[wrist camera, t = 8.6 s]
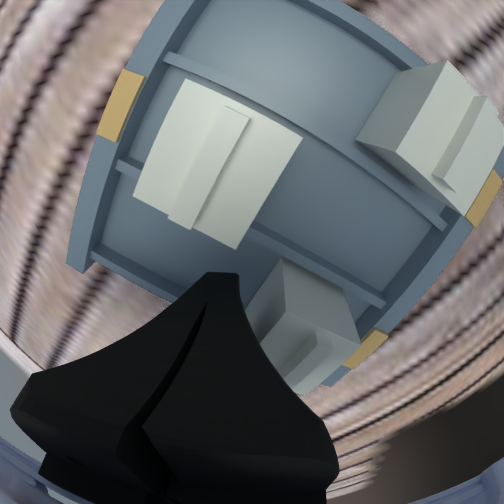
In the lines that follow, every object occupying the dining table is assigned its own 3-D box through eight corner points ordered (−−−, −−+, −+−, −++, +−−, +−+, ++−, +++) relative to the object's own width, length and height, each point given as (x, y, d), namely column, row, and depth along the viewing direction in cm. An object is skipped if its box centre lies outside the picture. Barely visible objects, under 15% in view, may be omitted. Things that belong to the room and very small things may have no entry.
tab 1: (291, 132, 9) (306, 139, 5) (246, 207, 10) (232, 261, 7) (213, 91, 9) (177, 74, 5) (173, 170, 10) (121, 202, 6)
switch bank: (486, 141, 9) (519, 150, 7) (325, 356, 15) (331, 389, 13) (223, -36, 7) (213, -64, 5) (89, 242, 13) (63, 265, 10)
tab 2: (341, 287, 12) (365, 358, 8) (299, 336, 13) (306, 408, 9) (282, 255, 11) (286, 325, 7) (243, 311, 12) (233, 384, 9)
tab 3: (450, 123, 8) (521, 137, 4) (413, 185, 9) (475, 224, 6) (395, 73, 8) (459, 57, 4) (354, 139, 9) (405, 155, 5)
